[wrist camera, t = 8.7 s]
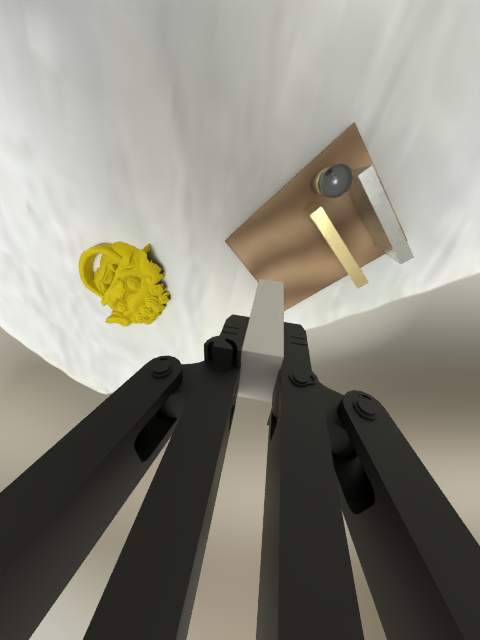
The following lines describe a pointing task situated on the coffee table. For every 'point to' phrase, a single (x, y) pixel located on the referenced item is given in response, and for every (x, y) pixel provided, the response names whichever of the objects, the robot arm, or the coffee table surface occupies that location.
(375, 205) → the fixed leaf
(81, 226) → the coffee table surface
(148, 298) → the door knocker
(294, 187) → the walnut board
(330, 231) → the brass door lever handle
